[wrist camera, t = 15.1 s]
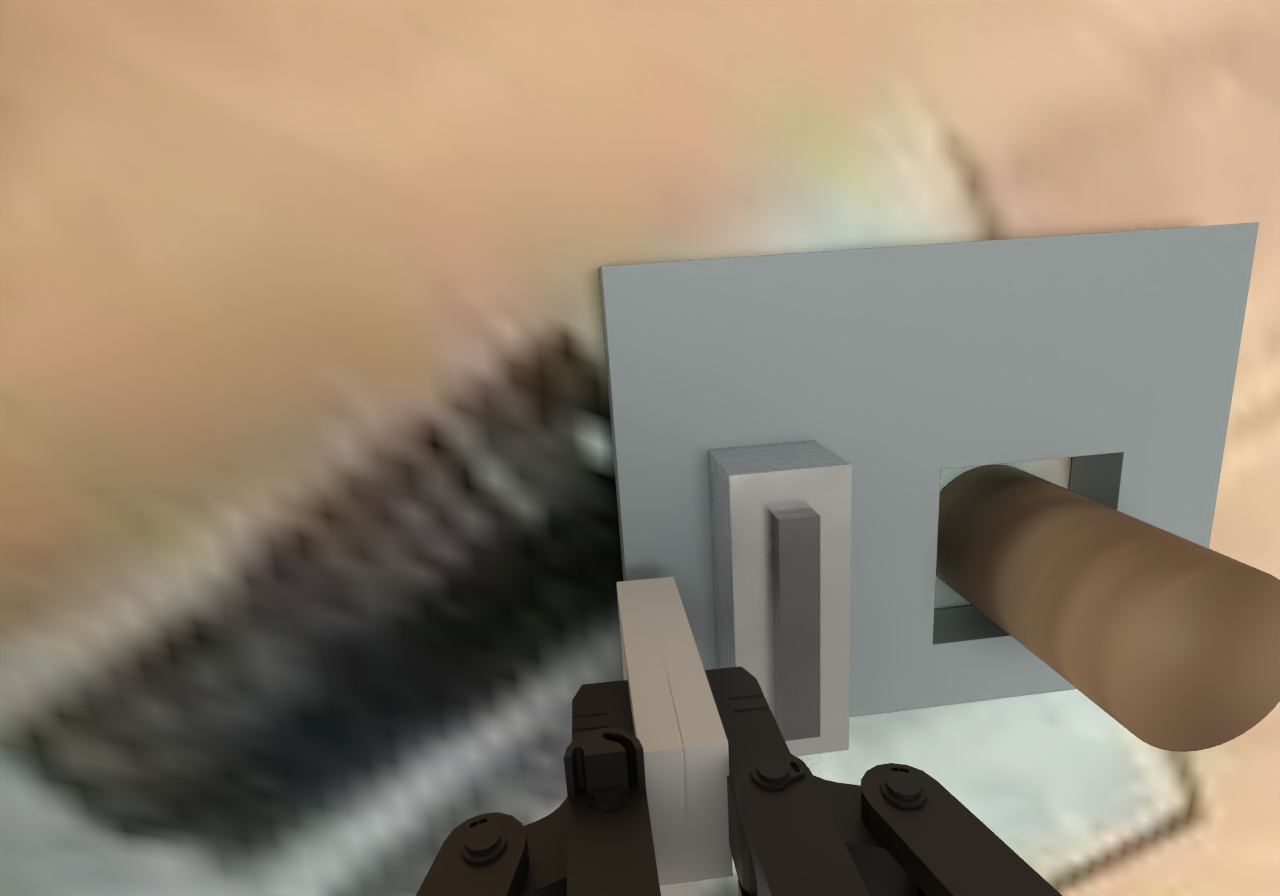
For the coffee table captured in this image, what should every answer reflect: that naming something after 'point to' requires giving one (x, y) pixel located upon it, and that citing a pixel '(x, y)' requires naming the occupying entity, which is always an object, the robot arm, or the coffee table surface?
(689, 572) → the housing plate
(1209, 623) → the walnut peg
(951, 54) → the coffee table surface
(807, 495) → the bar
